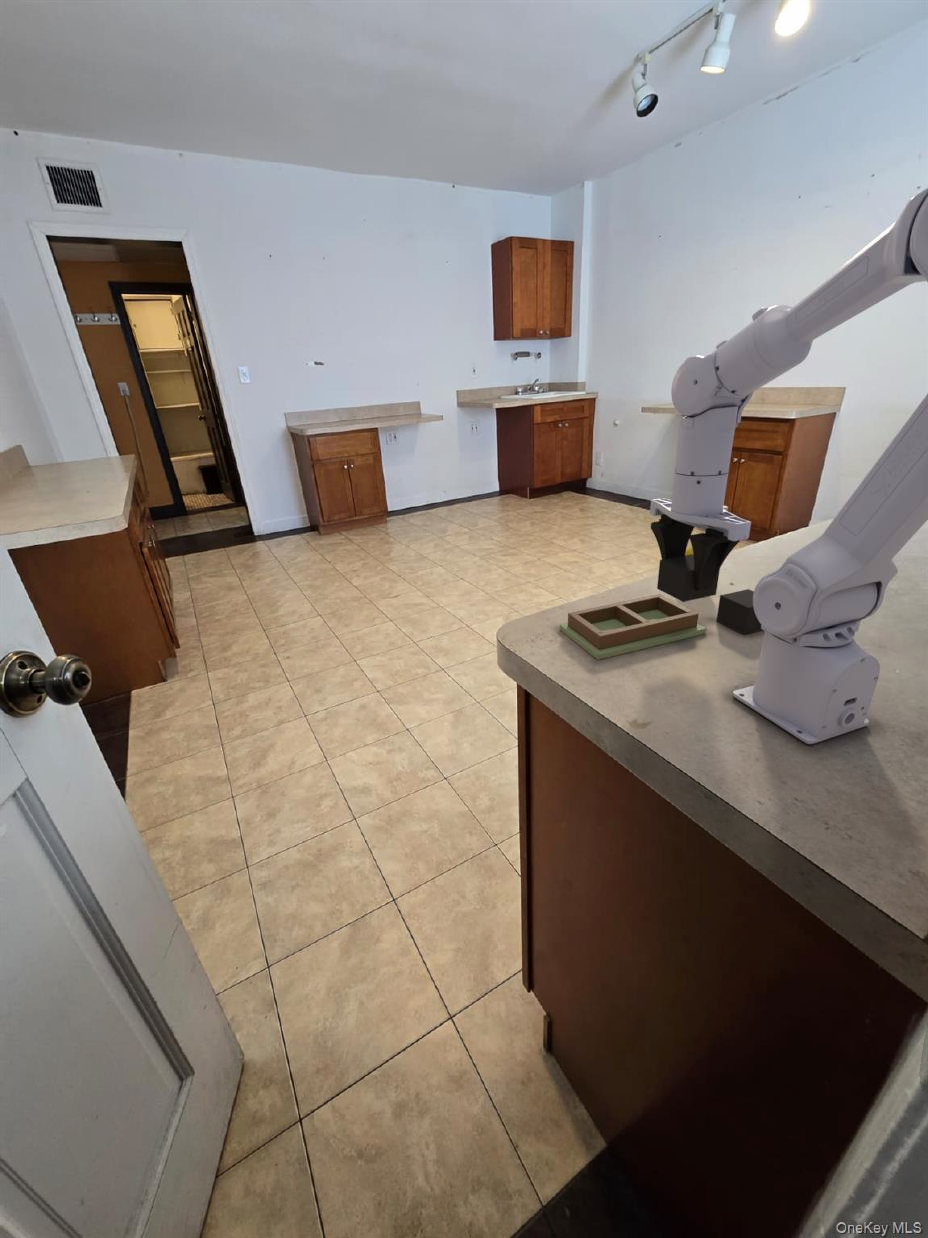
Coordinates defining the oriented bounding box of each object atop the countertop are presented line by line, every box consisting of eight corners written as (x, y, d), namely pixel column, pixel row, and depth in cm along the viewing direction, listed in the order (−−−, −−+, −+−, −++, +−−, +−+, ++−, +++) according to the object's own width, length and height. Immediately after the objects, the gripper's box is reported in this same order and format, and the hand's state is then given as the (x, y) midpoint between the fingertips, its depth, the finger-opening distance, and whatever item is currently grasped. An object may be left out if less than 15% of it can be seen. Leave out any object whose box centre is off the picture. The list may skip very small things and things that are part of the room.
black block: (772, 627, 70) (778, 600, 68) (743, 635, 69) (748, 607, 67) (743, 614, 74) (748, 588, 73) (715, 621, 73) (719, 595, 71)
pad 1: (716, 595, 64) (720, 564, 62) (682, 602, 63) (686, 571, 61) (688, 582, 68) (692, 553, 67) (656, 588, 67) (659, 559, 65)
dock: (706, 633, 70) (708, 614, 69) (597, 660, 65) (598, 640, 64) (658, 607, 79) (659, 590, 77) (559, 629, 74) (559, 611, 73)
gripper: (781, 476, 54) (758, 595, 60) (686, 461, 67) (674, 560, 72) (727, 484, 52) (709, 606, 58) (640, 467, 65) (632, 568, 71)
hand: (687, 581), depth 65 cm, fingers closed on pad 1, 5 cm apart
